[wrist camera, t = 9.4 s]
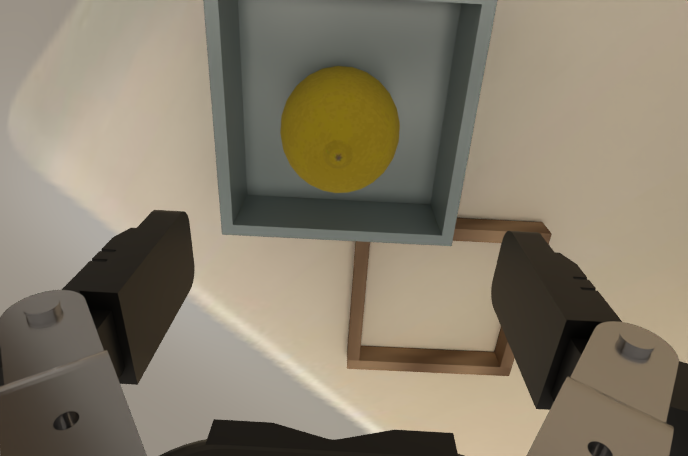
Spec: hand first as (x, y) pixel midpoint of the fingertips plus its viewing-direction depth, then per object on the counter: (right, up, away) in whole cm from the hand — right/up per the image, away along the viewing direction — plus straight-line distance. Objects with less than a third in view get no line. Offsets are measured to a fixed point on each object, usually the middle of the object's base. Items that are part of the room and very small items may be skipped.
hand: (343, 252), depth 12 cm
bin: (0, +7, +14) cm, 16 cm away
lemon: (0, +7, +14) cm, 15 cm away
